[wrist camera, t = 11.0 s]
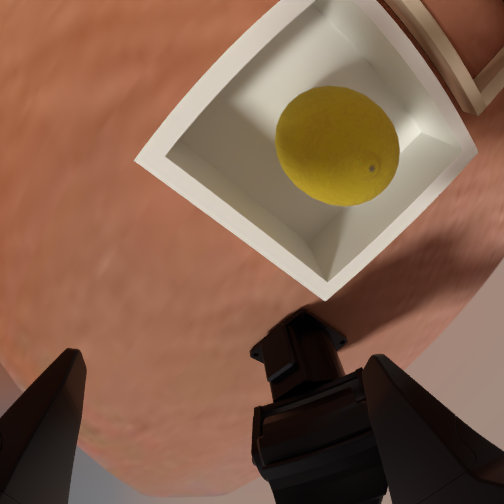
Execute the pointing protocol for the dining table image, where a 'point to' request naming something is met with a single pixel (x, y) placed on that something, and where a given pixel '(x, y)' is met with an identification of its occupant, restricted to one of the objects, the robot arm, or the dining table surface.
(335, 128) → the lemon
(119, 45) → the dining table surface
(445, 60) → the rectangular frame
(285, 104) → the bin
